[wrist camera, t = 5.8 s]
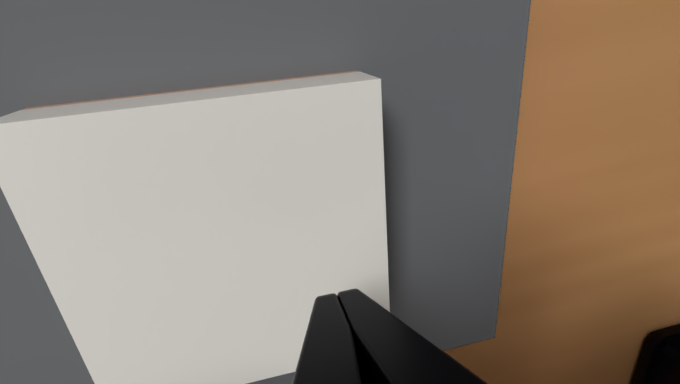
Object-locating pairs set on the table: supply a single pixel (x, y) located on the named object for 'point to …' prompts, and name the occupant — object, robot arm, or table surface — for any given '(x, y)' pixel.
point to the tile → (202, 220)
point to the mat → (289, 62)
